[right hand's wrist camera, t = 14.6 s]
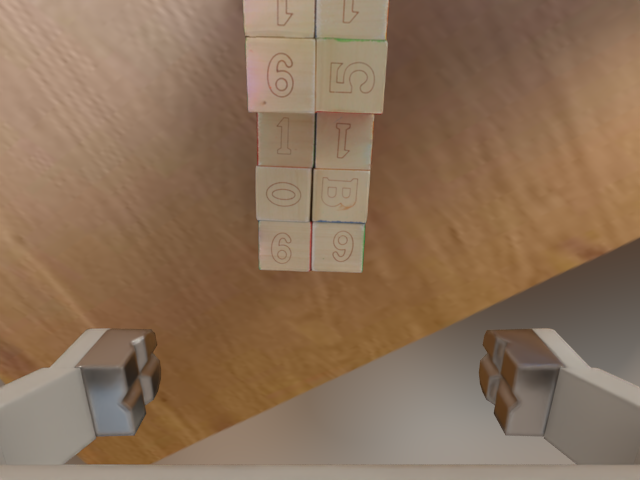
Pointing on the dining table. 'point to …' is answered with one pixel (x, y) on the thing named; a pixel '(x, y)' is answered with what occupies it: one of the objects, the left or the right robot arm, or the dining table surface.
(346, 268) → the stack of blocks
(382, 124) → the dining table surface
